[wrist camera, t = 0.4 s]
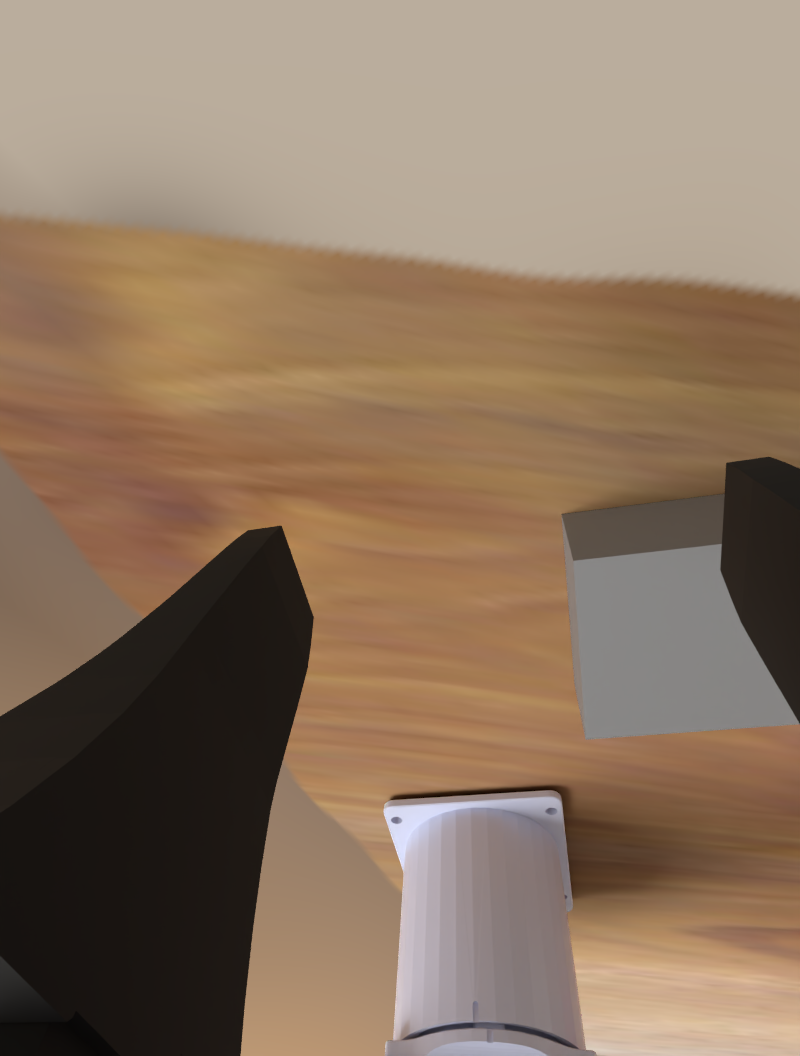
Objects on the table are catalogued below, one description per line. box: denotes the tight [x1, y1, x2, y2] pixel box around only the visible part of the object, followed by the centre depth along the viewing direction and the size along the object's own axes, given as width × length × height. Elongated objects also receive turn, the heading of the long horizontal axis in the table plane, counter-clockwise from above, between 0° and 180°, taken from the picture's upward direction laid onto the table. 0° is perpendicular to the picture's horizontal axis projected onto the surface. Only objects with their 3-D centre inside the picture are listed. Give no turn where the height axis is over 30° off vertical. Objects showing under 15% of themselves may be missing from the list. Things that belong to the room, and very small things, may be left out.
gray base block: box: [562, 494, 800, 739], centre depth 23 cm, size 8×8×3 cm
